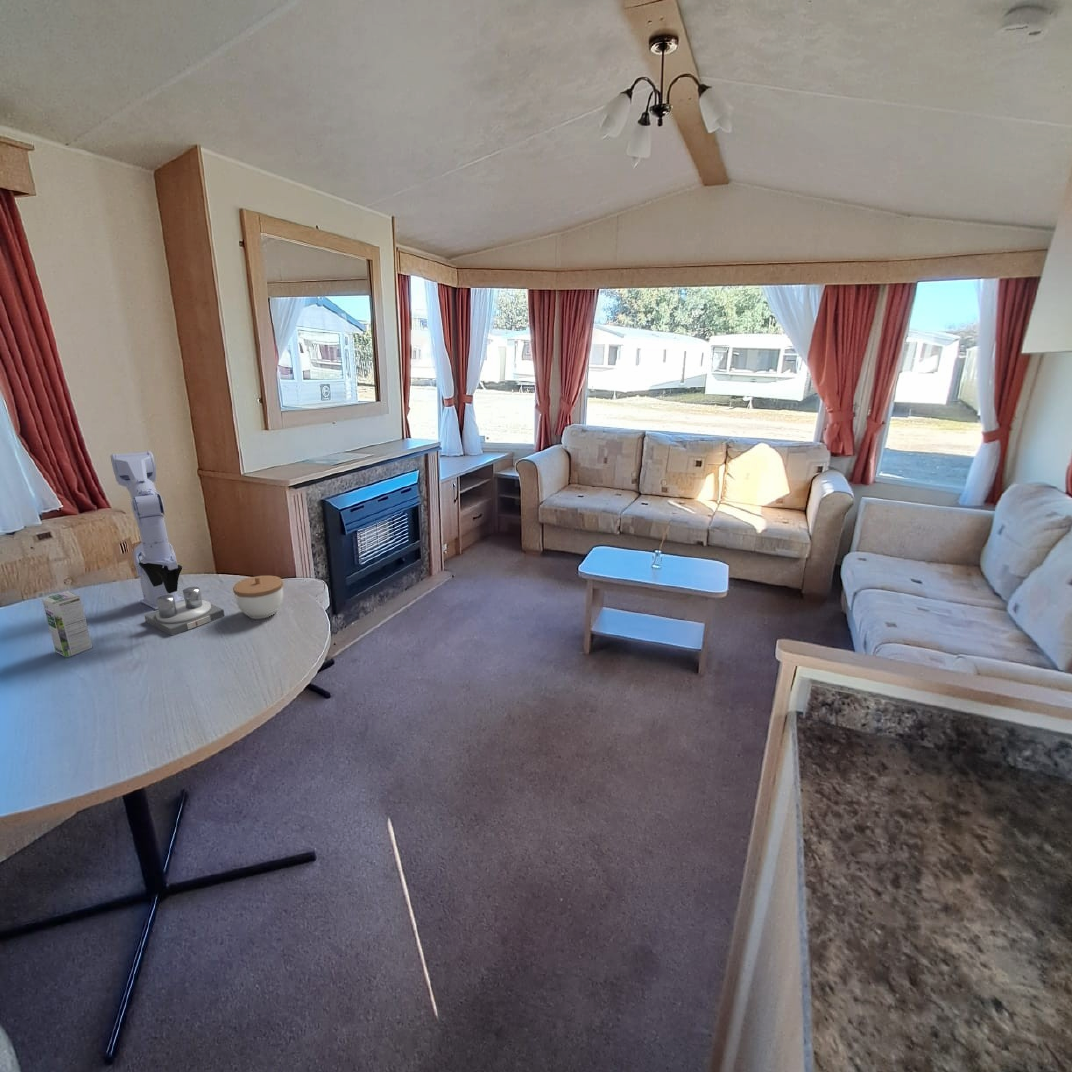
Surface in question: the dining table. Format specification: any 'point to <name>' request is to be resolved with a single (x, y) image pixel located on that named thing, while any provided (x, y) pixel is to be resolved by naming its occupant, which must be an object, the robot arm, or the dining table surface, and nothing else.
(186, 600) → the cylinder
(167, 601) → the cylinder
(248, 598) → the lidded bowl
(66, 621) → the syrup box
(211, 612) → the scale
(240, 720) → the dining table surface
